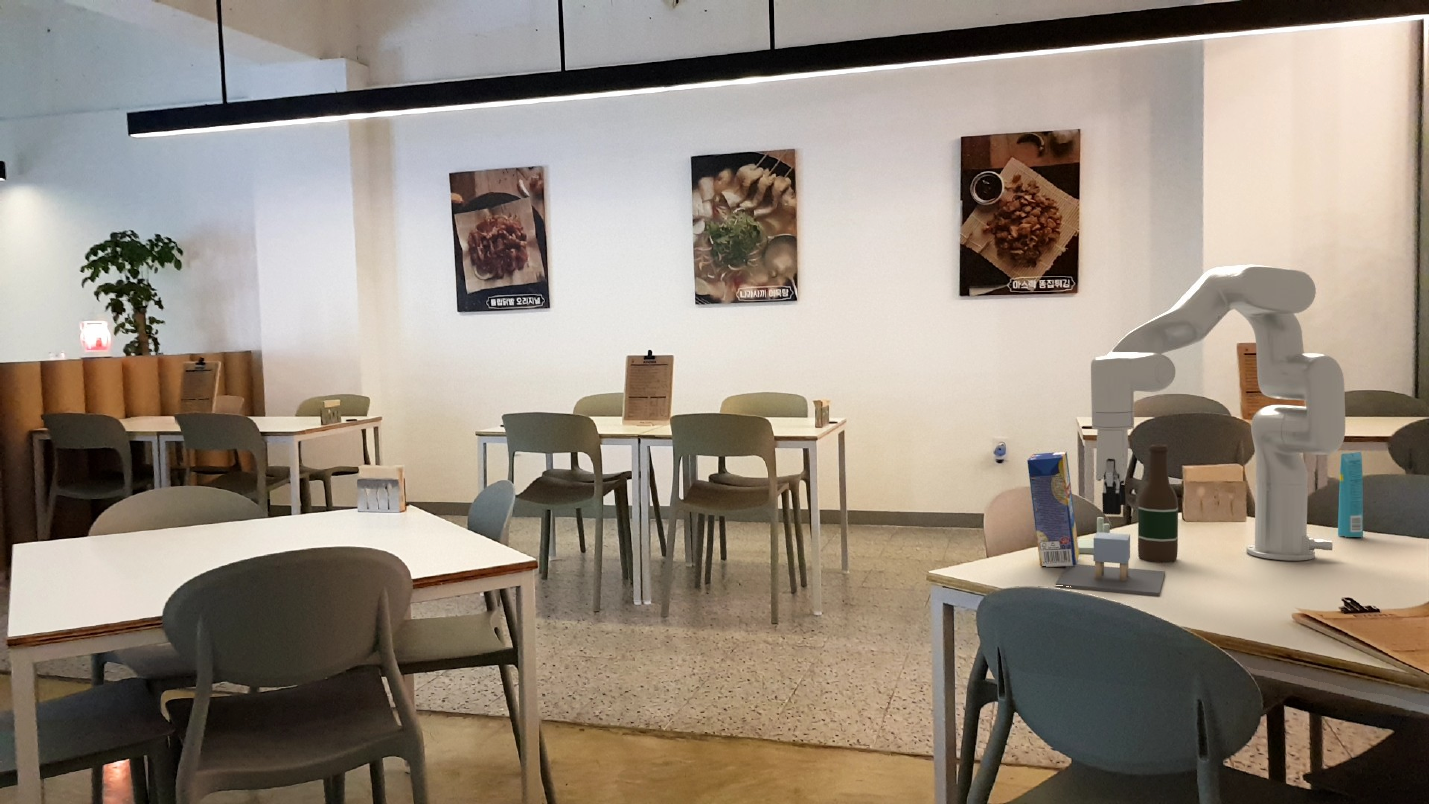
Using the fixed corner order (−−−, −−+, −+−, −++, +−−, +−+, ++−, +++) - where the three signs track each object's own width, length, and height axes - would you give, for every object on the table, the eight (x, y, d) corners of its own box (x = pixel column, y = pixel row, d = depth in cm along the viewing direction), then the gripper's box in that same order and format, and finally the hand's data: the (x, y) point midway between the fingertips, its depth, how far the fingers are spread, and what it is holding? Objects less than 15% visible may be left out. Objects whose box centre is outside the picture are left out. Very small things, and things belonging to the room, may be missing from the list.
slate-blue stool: (1096, 572, 199) (1097, 532, 198) (1129, 575, 196) (1130, 534, 196) (1093, 579, 194) (1093, 538, 193) (1127, 582, 191) (1127, 540, 190)
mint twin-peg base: (1104, 544, 227) (1105, 516, 227) (1113, 553, 218) (1113, 525, 217) (1058, 543, 229) (1058, 516, 229) (1064, 552, 220) (1064, 524, 219)
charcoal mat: (1164, 574, 199) (1164, 571, 199) (1159, 596, 183) (1159, 592, 183) (1068, 566, 207) (1068, 563, 207) (1055, 586, 191) (1055, 583, 191)
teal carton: (1346, 532, 235) (1348, 450, 234) (1369, 536, 231) (1371, 452, 230) (1330, 536, 231) (1332, 453, 229) (1353, 540, 227) (1355, 454, 225)
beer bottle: (1182, 563, 208) (1183, 447, 206) (1141, 562, 209) (1142, 447, 208) (1173, 555, 215) (1174, 442, 214) (1134, 554, 217) (1135, 442, 215)
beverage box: (1079, 554, 214) (1066, 451, 214) (1075, 565, 204) (1062, 457, 204) (1045, 555, 217) (1033, 454, 216) (1040, 567, 207) (1027, 460, 206)
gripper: (1096, 415, 202) (1098, 500, 204) (1086, 425, 187) (1088, 517, 188) (1137, 415, 199) (1138, 501, 200) (1130, 425, 184) (1131, 519, 185)
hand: (1114, 509), depth 194 cm, fingers open, 9 cm apart
